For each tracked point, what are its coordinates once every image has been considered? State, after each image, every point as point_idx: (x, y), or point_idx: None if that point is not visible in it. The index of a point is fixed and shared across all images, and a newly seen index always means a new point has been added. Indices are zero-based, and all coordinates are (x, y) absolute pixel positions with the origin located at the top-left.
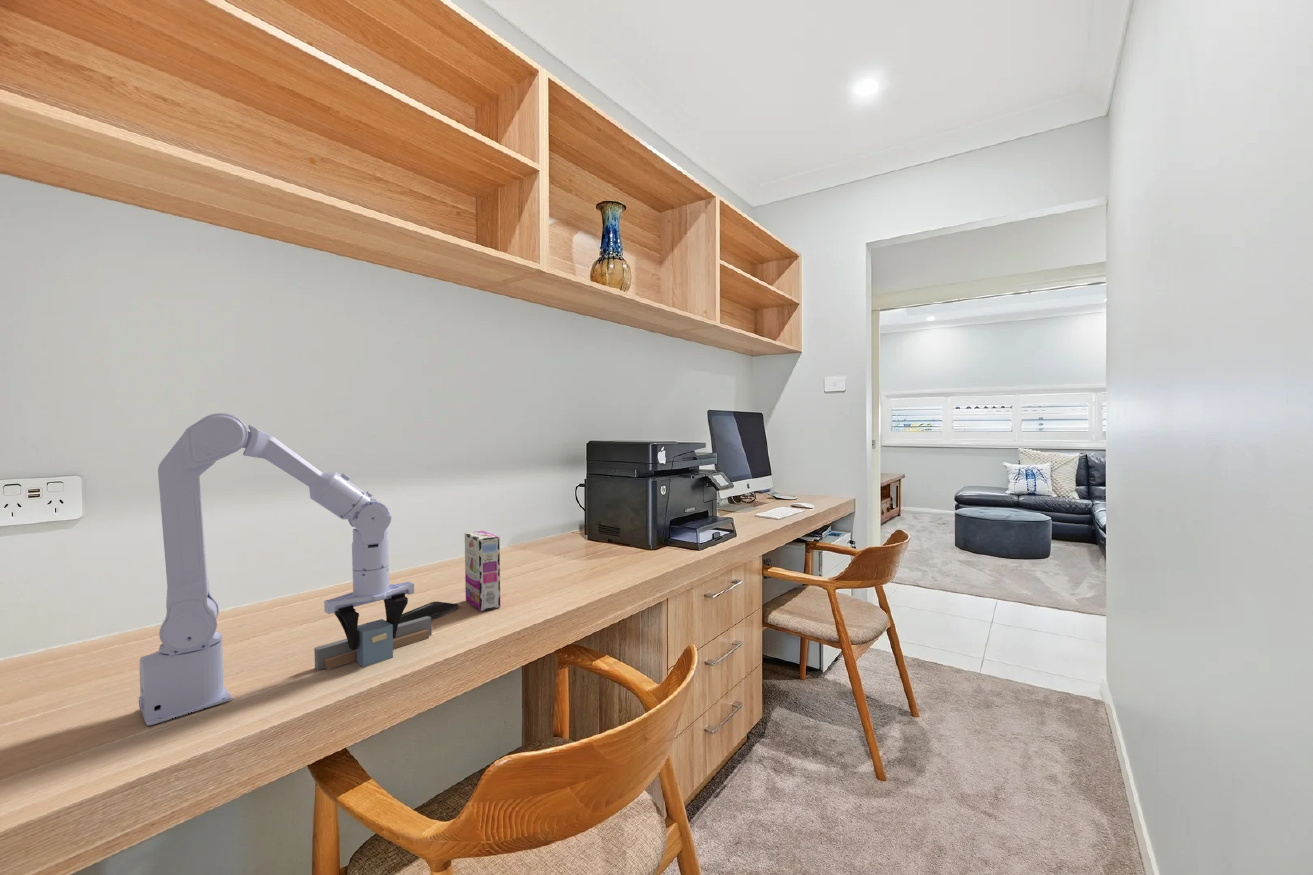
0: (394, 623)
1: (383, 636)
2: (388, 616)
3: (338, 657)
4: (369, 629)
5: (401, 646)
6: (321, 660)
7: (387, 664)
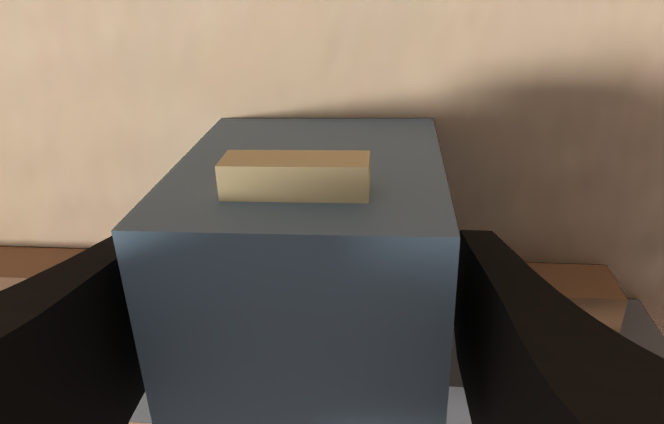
0: (82, 277)
1: (253, 160)
2: (95, 421)
3: None
4: (358, 290)
5: None
6: (639, 336)
7: (294, 20)
